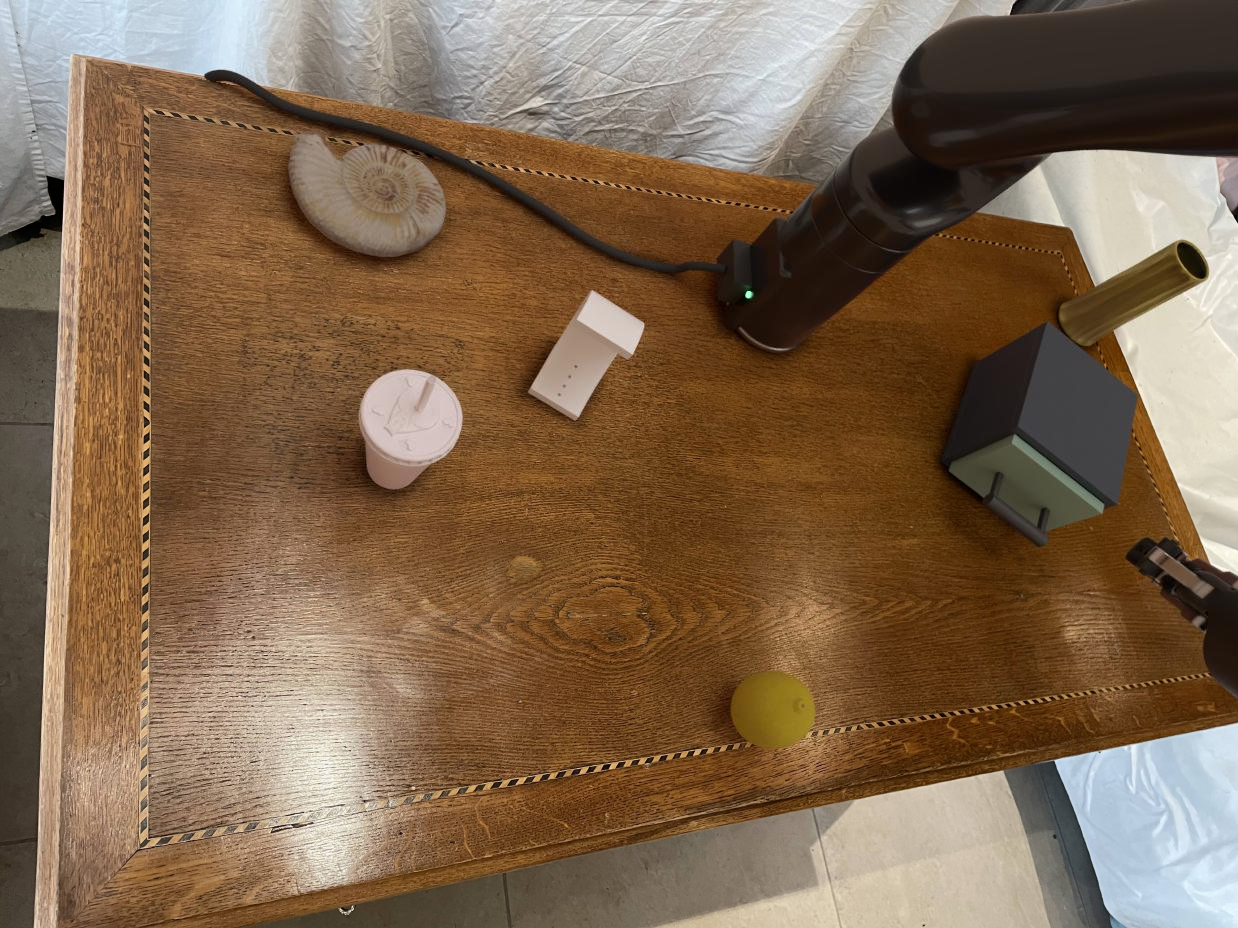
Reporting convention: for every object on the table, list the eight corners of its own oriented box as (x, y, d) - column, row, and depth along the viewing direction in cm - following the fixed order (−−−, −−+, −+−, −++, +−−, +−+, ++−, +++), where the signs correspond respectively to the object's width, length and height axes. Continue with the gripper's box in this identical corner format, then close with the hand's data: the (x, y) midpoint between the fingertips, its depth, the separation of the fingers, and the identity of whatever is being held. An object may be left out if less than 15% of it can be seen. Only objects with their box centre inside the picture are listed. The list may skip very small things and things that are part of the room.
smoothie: (454, 471, 60) (500, 395, 47) (388, 524, 56) (420, 457, 44) (396, 409, 59) (428, 317, 47) (327, 458, 56) (342, 373, 44)
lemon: (733, 763, 60) (793, 762, 53) (701, 695, 61) (755, 686, 54) (785, 729, 63) (848, 724, 56) (753, 664, 64) (812, 651, 57)
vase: (1090, 311, 99) (1206, 245, 87) (1097, 353, 96) (1218, 291, 84) (1054, 297, 97) (1167, 228, 85) (1060, 339, 95) (1178, 274, 82)
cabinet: (1032, 531, 81) (1118, 504, 73) (940, 461, 80) (1017, 425, 71) (1057, 430, 89) (1138, 394, 80) (973, 363, 87) (1047, 320, 79)
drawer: (1024, 569, 78) (1095, 549, 71) (937, 503, 76) (1001, 477, 70) (1056, 438, 87) (1122, 410, 80) (979, 377, 85) (1039, 343, 78)
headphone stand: (527, 392, 64) (576, 319, 54) (557, 339, 67) (610, 260, 57) (575, 421, 65) (632, 354, 55) (603, 368, 68) (663, 295, 58)
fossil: (287, 241, 58) (288, 107, 58) (286, 260, 63) (287, 136, 63) (452, 258, 63) (452, 135, 63) (440, 275, 67) (440, 160, 68)
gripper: (1472, 699, 42) (1243, 564, 59) (1302, 560, 40) (1115, 461, 57) (1354, 791, 44) (1164, 635, 61) (1187, 661, 42) (1039, 538, 59)
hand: (1141, 551), depth 59 cm, fingers closed
